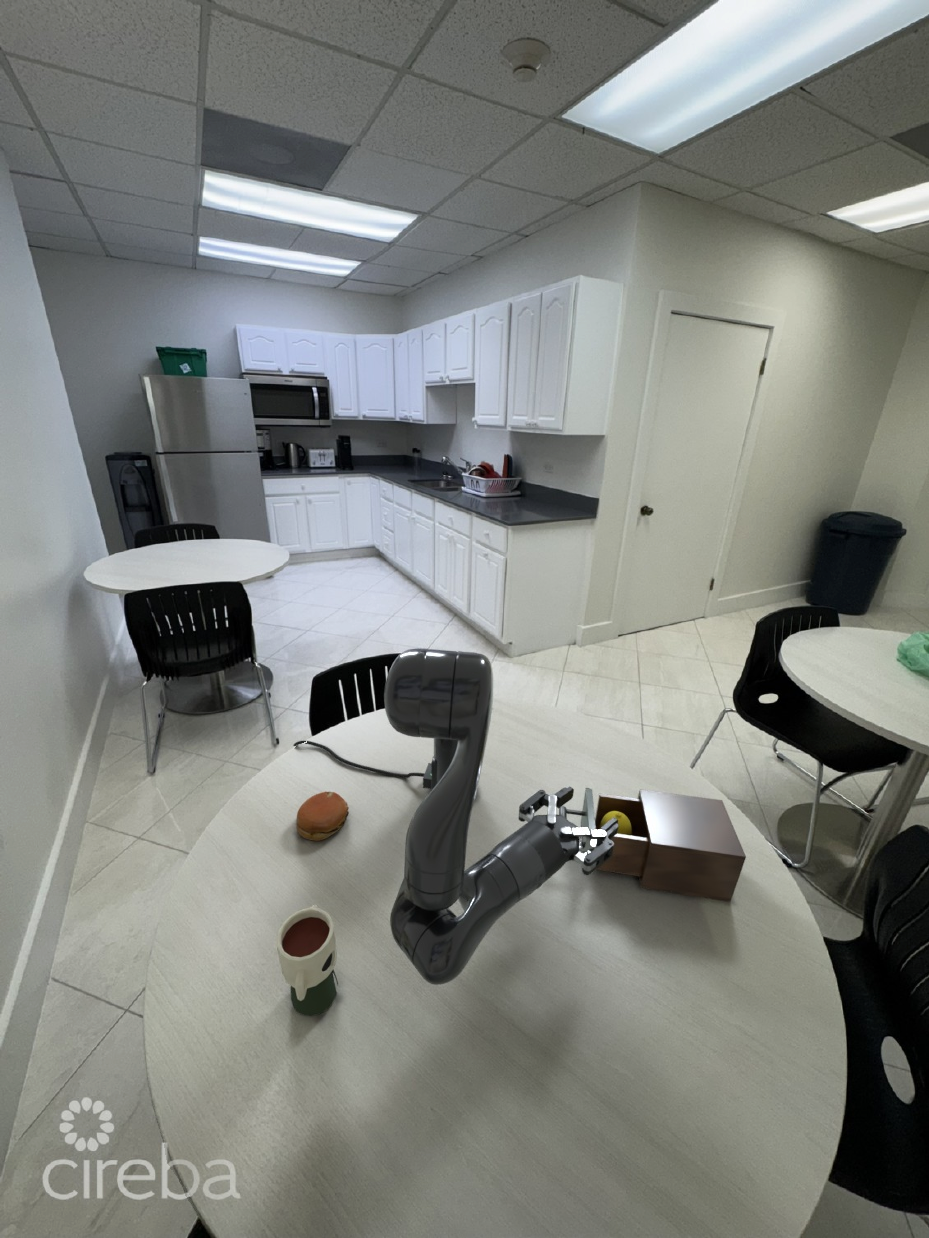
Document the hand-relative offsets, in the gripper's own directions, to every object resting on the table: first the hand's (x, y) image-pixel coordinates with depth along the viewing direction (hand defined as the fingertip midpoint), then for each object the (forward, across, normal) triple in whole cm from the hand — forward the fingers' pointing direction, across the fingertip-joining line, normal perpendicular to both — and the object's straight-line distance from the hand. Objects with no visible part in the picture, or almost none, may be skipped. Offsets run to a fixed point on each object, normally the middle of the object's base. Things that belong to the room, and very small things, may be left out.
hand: (592, 806), depth 79 cm
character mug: (-43, +13, +17) cm, 48 cm away
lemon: (+9, 0, +15) cm, 18 cm away
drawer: (+8, +1, +16) cm, 18 cm away
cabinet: (+16, -9, +17) cm, 25 cm away
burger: (-29, +40, +17) cm, 53 cm away
